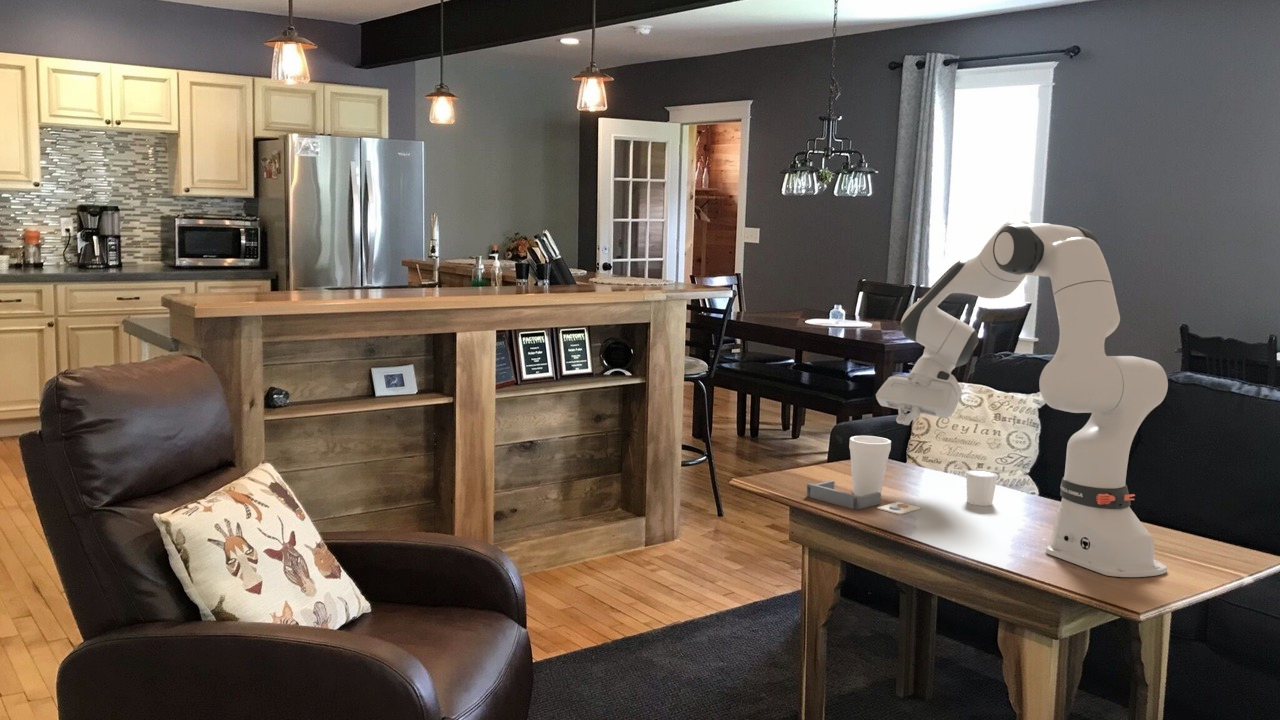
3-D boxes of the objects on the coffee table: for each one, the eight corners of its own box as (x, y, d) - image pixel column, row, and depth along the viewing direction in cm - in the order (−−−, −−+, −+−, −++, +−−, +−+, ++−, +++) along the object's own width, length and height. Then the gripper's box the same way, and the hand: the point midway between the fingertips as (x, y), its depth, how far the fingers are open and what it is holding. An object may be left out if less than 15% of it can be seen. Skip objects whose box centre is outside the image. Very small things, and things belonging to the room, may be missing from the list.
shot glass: (991, 499, 248) (993, 470, 247) (998, 507, 241) (1000, 477, 240) (961, 497, 248) (963, 468, 248) (967, 505, 242) (969, 475, 241)
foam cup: (885, 490, 253) (888, 437, 251) (889, 500, 244) (893, 445, 242) (844, 488, 254) (848, 434, 252) (848, 497, 245) (851, 442, 243)
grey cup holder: (830, 490, 251) (831, 478, 250) (880, 503, 241) (881, 490, 240) (806, 496, 245) (807, 483, 244) (856, 510, 235) (857, 496, 234)
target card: (897, 503, 242) (897, 500, 242) (920, 508, 237) (920, 506, 237) (877, 508, 236) (877, 506, 236) (900, 514, 232) (900, 512, 232)
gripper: (887, 365, 266) (861, 407, 261) (959, 376, 251) (934, 421, 246) (896, 381, 270) (870, 423, 265) (968, 393, 255) (943, 438, 250)
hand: (901, 422), depth 255 cm, fingers closed
